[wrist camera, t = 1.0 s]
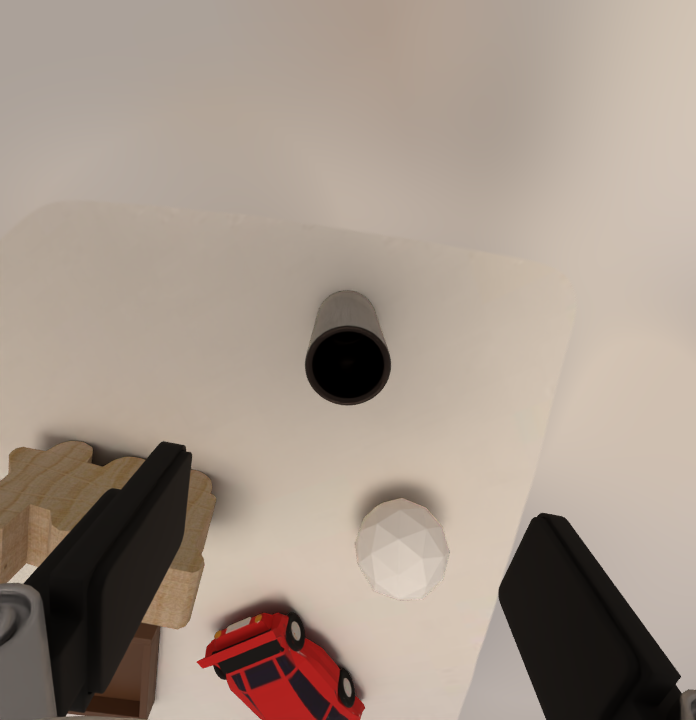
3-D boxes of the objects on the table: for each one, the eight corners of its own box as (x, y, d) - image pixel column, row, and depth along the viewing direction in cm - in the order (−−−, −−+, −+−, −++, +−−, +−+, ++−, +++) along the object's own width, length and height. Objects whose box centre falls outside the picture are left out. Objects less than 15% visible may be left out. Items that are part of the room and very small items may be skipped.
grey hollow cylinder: (326, 353, 31) (318, 415, 21) (309, 298, 29) (293, 338, 20) (382, 339, 31) (399, 394, 21) (367, 283, 29) (380, 315, 19)
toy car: (305, 725, 47) (301, 781, 43) (198, 627, 41) (179, 680, 37) (380, 694, 45) (384, 749, 41) (278, 587, 40) (269, 637, 35)
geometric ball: (392, 478, 38) (430, 483, 31) (436, 550, 38) (485, 572, 30) (328, 526, 36) (354, 544, 28) (374, 604, 35) (413, 643, 28)
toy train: (41, 430, 33) (-80, 514, 24) (238, 481, 35) (199, 577, 26) (37, 482, 35) (-76, 579, 26) (225, 527, 37) (184, 633, 27)
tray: (56, 604, 40) (41, 625, 38) (160, 619, 41) (151, 640, 39) (60, 689, 45) (47, 711, 43) (154, 701, 45) (145, 723, 43)
